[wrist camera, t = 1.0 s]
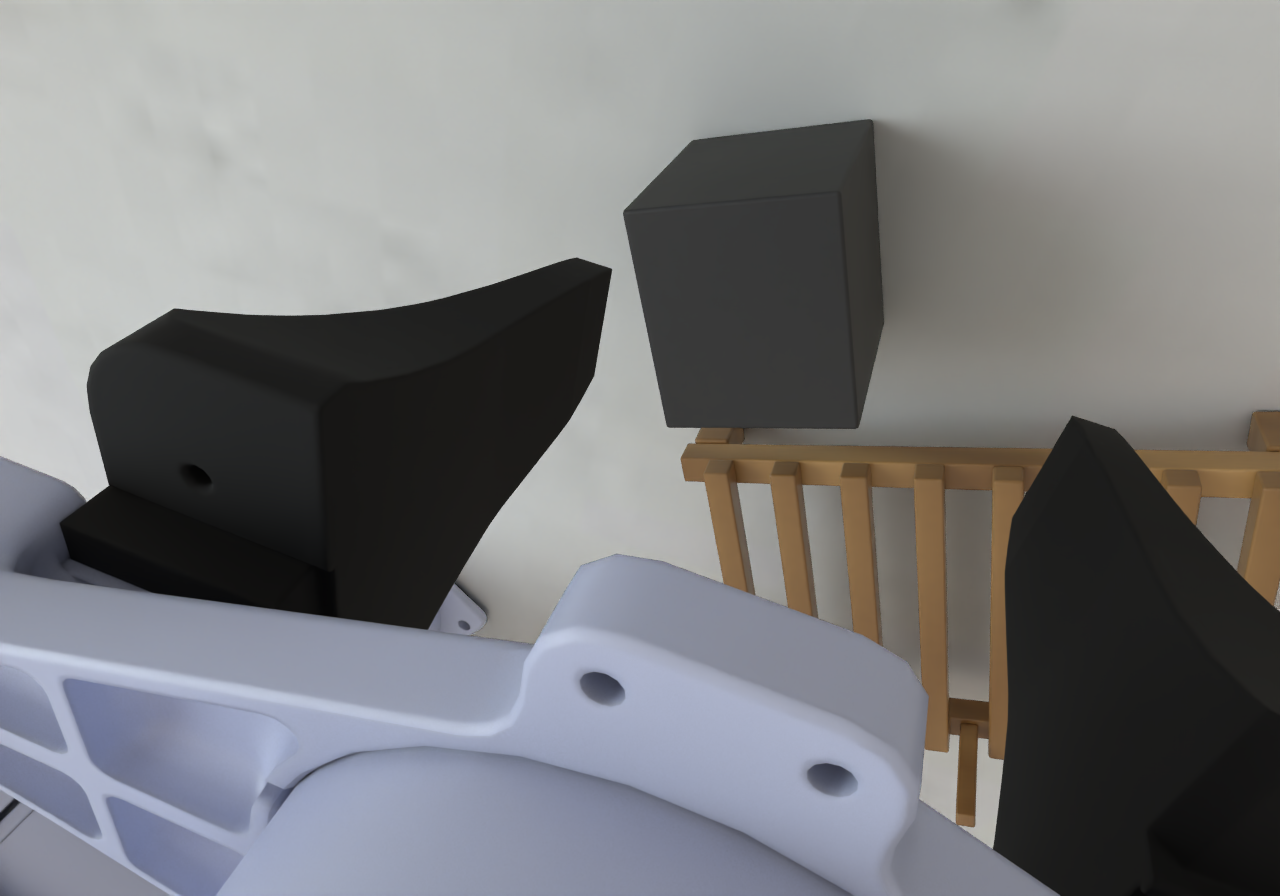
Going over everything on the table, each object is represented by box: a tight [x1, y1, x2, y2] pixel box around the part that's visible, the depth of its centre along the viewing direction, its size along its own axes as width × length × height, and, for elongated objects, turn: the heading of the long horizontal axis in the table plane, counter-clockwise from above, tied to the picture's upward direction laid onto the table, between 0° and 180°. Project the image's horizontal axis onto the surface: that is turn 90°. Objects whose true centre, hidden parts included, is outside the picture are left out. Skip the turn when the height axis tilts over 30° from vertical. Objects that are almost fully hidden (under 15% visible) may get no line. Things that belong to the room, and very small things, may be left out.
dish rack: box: [681, 412, 1280, 827], centre depth 24 cm, size 15×10×6 cm
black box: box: [623, 119, 884, 429], centre depth 21 cm, size 4×5×5 cm
